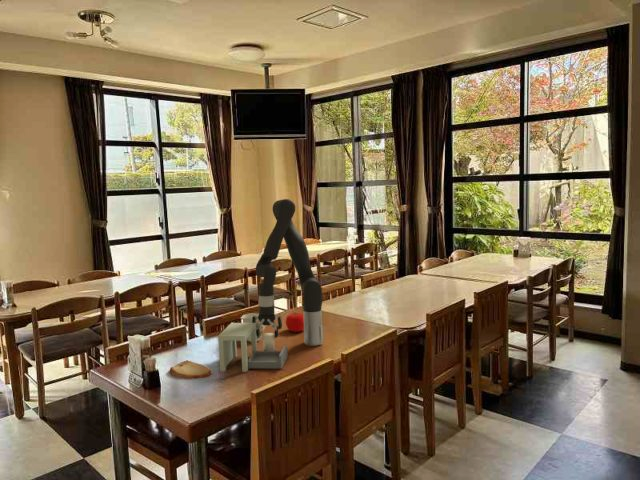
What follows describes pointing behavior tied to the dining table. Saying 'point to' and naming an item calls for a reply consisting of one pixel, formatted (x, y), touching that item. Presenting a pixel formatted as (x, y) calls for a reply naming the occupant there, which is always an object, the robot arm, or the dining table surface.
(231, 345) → the miniature white stool
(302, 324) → the tomato
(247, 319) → the pitcher
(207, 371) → the slice of bread
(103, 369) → the dining table surface
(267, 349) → the cream rounded cylinder
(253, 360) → the tray
